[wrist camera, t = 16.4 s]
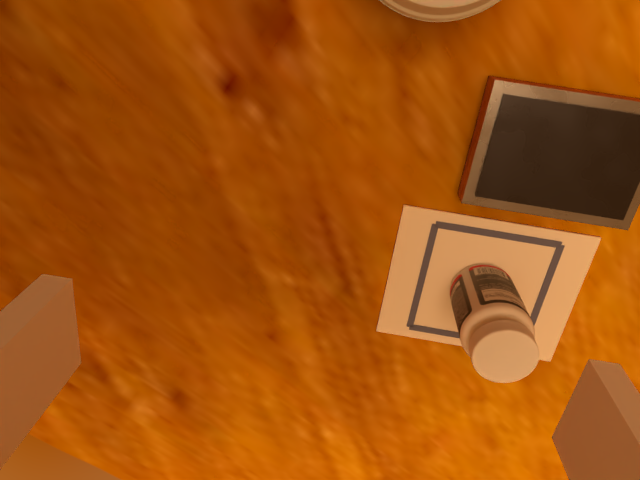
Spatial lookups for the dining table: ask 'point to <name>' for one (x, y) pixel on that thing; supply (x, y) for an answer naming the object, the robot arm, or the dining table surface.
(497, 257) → the print card
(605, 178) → the ink pad
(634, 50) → the dining table surface
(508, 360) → the pill bottle
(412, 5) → the coffee cup
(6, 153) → the dining table surface
